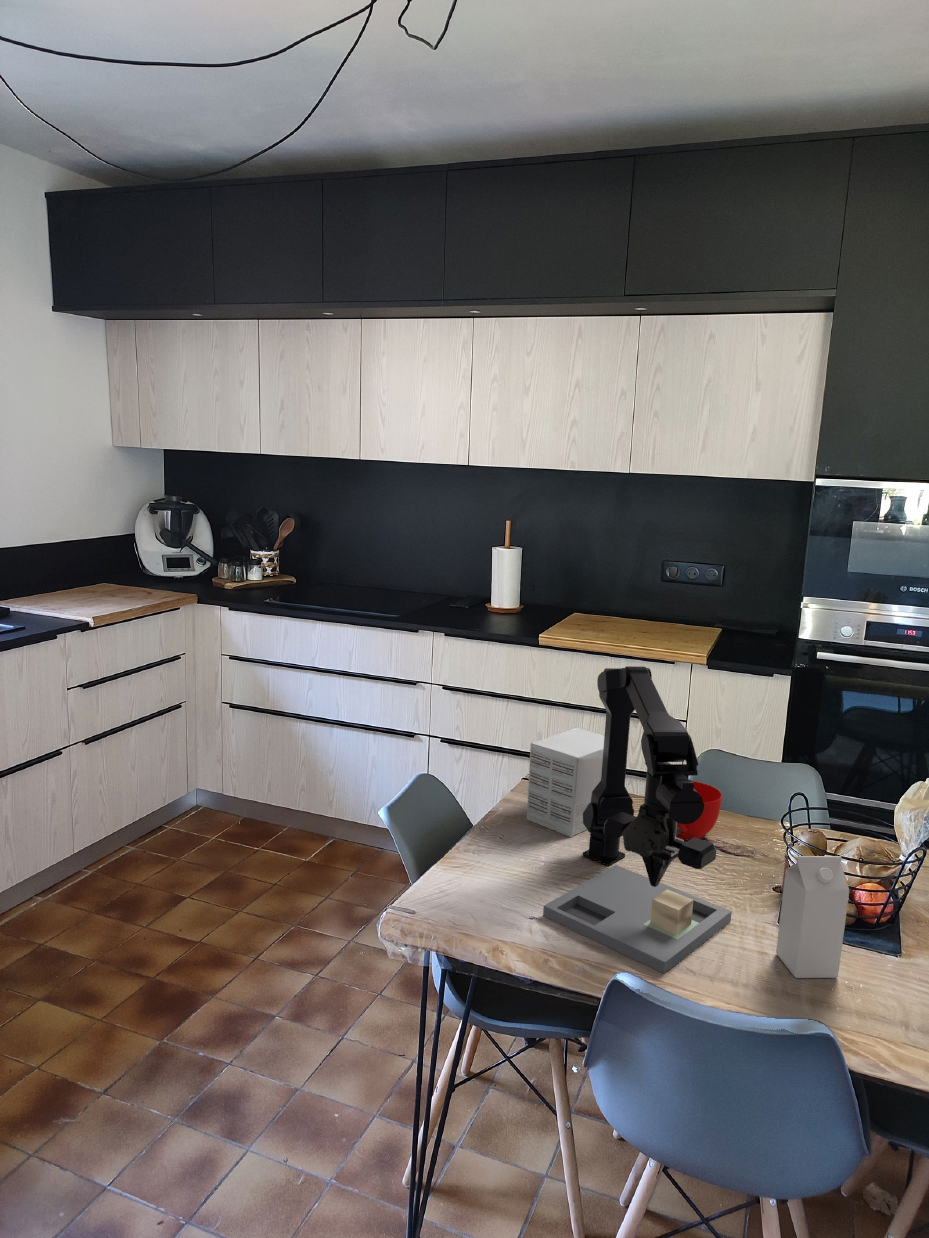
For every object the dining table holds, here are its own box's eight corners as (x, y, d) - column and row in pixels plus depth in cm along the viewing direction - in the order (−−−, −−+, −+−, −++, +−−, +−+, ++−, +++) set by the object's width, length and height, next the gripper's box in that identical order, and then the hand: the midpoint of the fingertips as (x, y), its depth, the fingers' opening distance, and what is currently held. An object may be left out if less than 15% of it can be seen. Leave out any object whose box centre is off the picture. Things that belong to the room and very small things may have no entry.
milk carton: (775, 953, 144) (788, 846, 141) (816, 953, 145) (830, 846, 141) (795, 979, 137) (808, 866, 134) (838, 978, 138) (852, 866, 135)
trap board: (615, 874, 170) (616, 864, 169) (730, 921, 154) (731, 911, 154) (543, 916, 153) (543, 905, 153) (664, 973, 137) (665, 962, 137)
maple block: (665, 913, 152) (667, 889, 151) (691, 924, 149) (693, 899, 148) (650, 923, 148) (652, 898, 147) (676, 935, 145) (678, 910, 144)
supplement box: (570, 799, 207) (575, 726, 203) (617, 817, 198) (623, 740, 194) (524, 819, 194) (528, 741, 191) (572, 838, 185) (577, 757, 182)
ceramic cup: (648, 846, 183) (651, 801, 181) (662, 817, 198) (666, 776, 196) (711, 859, 178) (716, 813, 176) (721, 829, 193) (725, 786, 192)
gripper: (588, 795, 147) (582, 881, 150) (688, 830, 135) (679, 923, 138) (624, 780, 155) (617, 861, 158) (721, 811, 143) (712, 899, 146)
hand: (654, 885), depth 150 cm, fingers closed
